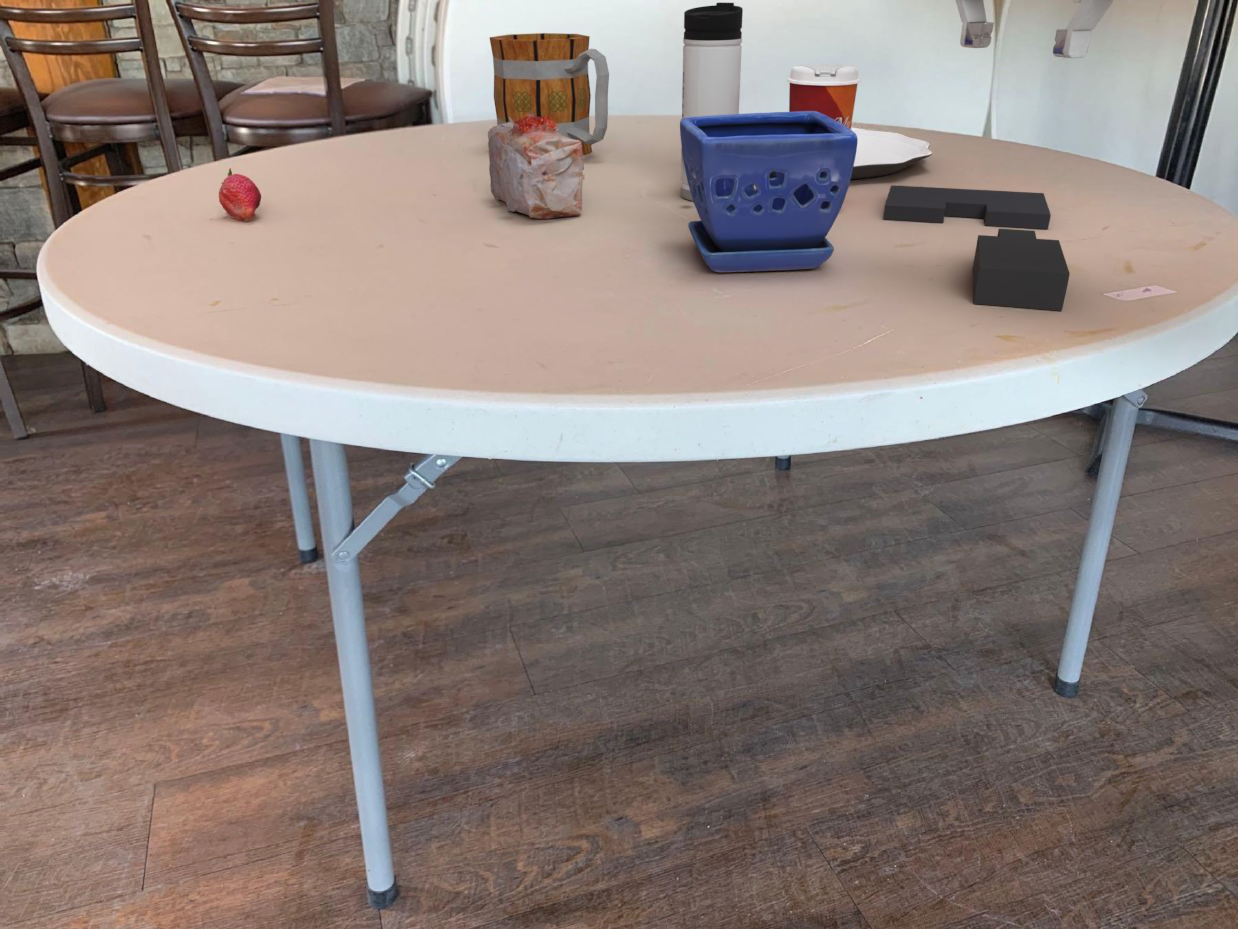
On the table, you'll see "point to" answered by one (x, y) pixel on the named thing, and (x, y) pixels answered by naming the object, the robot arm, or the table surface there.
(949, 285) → the table surface
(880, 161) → the plate
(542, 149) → the wrapped gift box
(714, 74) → the travel mug
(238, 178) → the fruit
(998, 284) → the black block
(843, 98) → the paper cup
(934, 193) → the charcoal pad
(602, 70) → the mug
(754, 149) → the flower pot
